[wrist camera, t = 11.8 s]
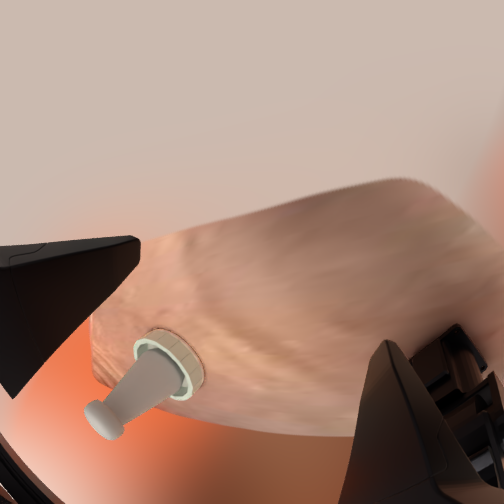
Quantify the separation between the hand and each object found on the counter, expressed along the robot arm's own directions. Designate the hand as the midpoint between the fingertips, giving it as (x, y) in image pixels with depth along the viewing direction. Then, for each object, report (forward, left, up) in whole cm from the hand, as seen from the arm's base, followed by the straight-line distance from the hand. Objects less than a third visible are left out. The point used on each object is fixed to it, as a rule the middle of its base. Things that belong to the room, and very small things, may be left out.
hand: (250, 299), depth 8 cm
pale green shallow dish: (+2, +23, -12) cm, 26 cm away
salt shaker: (+2, +23, -11) cm, 25 cm away
